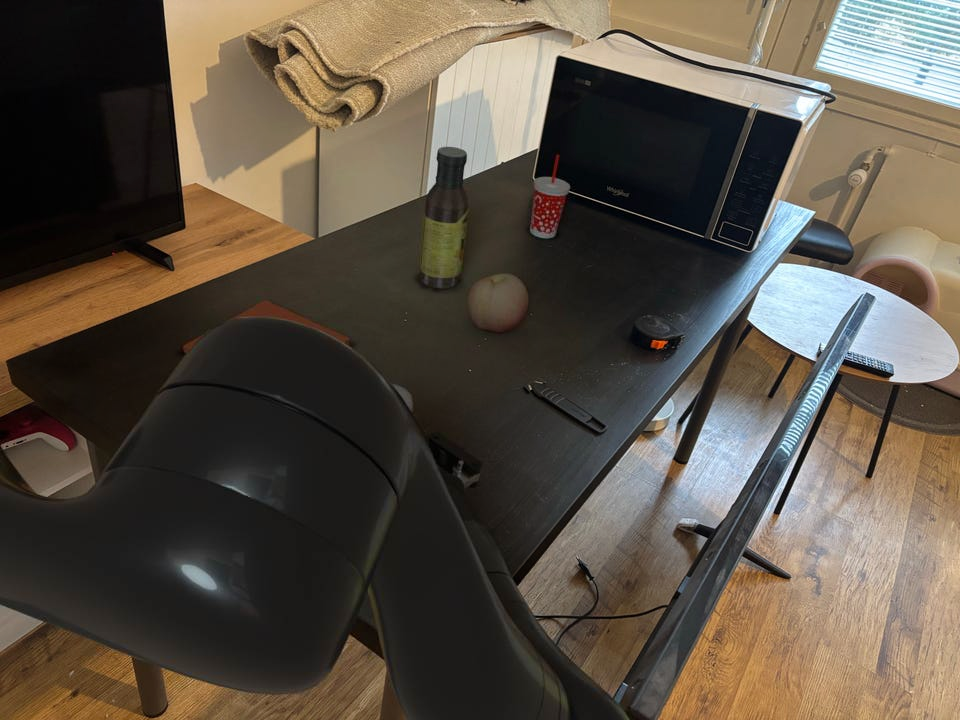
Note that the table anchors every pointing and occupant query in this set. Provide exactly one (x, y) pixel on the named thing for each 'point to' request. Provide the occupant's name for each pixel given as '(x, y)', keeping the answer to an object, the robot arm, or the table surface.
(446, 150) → the sauce bottle
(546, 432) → the table surface
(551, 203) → the beverage cup
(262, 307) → the mat
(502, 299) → the fruit
